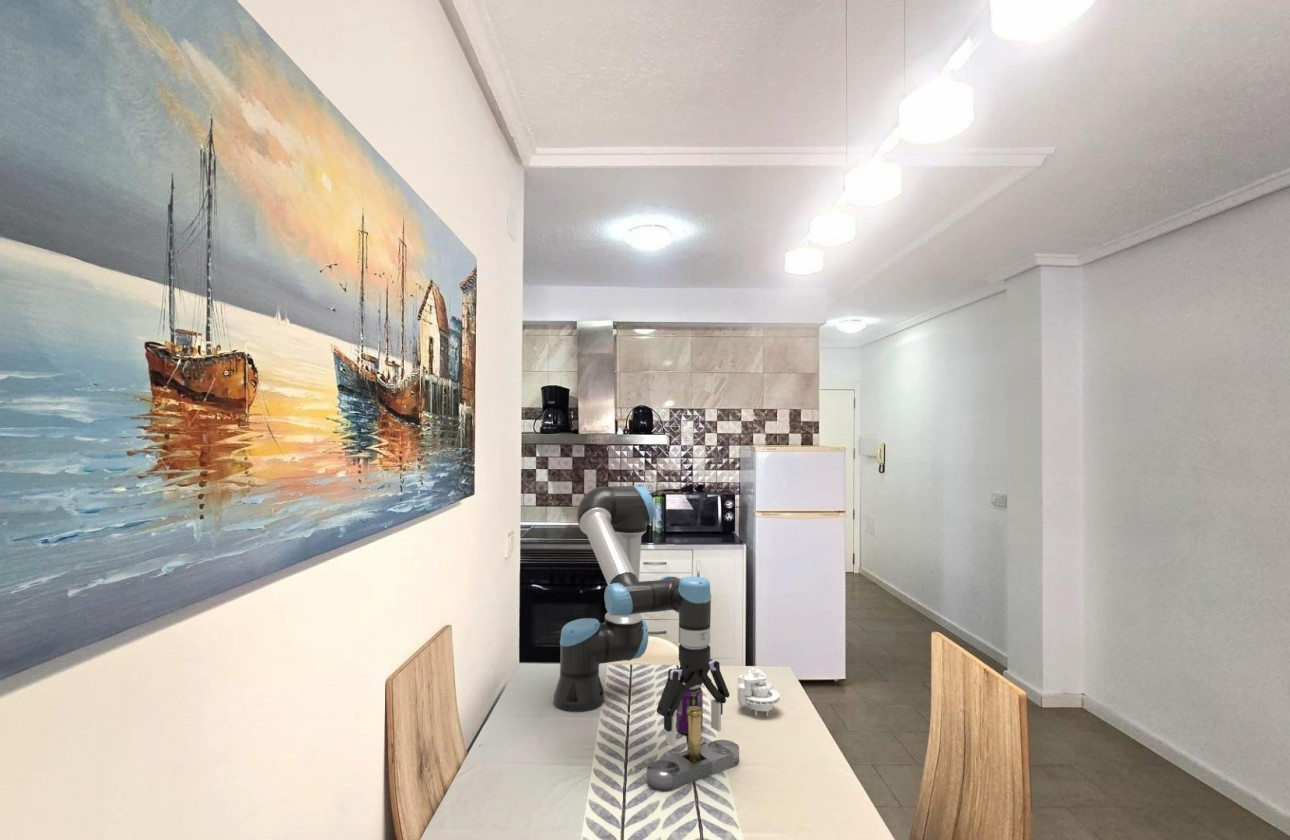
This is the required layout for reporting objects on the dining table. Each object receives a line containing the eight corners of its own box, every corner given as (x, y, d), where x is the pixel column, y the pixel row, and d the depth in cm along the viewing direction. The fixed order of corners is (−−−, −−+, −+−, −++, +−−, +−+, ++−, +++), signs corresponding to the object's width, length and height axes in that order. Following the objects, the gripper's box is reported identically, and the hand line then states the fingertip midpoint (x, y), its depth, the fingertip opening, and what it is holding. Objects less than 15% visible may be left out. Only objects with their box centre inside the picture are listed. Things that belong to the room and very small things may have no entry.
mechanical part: (777, 723, 163) (777, 679, 164) (734, 716, 167) (734, 674, 168) (781, 707, 174) (781, 666, 175) (741, 701, 178) (740, 661, 178)
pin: (683, 769, 138) (683, 708, 139) (695, 765, 140) (695, 704, 141) (693, 776, 135) (693, 714, 136) (706, 772, 137) (706, 710, 138)
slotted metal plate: (640, 779, 134) (640, 766, 134) (724, 749, 148) (724, 737, 148) (659, 795, 128) (659, 780, 128) (745, 761, 142) (745, 749, 142)
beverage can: (701, 737, 154) (701, 690, 155) (674, 734, 156) (674, 688, 157) (703, 725, 161) (703, 680, 162) (678, 723, 163) (678, 678, 164)
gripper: (661, 658, 130) (660, 758, 128) (743, 639, 144) (743, 729, 142) (642, 649, 136) (641, 744, 135) (723, 632, 150) (723, 717, 149)
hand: (694, 736), depth 139 cm, fingers open, 13 cm apart
